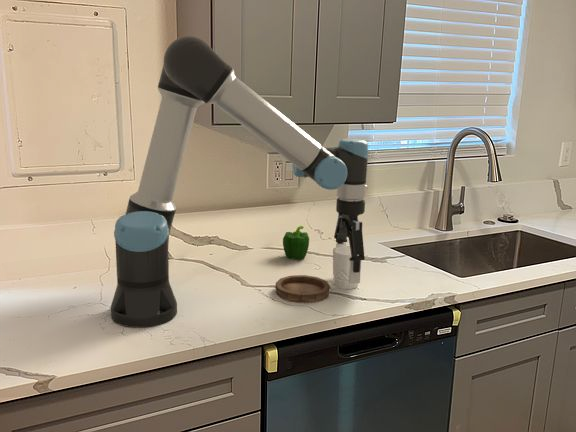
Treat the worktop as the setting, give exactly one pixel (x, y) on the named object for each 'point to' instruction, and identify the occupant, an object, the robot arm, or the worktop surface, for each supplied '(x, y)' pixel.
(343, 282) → the white cup
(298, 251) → the bell pepper
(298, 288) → the ring tray
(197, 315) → the worktop surface
